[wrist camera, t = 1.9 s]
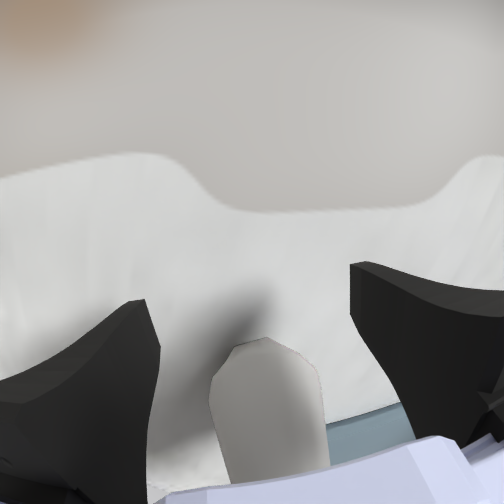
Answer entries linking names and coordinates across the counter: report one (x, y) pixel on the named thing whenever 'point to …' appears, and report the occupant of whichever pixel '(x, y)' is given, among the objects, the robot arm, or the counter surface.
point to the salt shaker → (268, 413)
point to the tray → (368, 434)
